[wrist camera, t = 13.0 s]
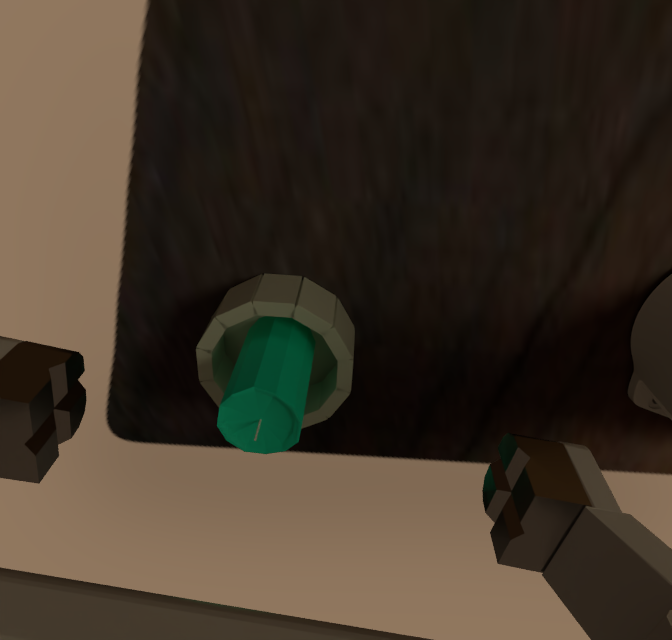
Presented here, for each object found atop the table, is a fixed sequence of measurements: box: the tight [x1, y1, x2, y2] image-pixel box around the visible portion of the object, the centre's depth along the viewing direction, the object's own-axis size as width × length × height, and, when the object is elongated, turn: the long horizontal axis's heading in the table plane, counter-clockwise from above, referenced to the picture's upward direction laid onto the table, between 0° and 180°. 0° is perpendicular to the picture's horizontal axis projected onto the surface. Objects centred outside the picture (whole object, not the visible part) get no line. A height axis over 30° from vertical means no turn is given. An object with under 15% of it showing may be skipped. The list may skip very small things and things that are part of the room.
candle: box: [217, 316, 316, 454], centre depth 40 cm, size 6×6×12 cm
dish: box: [196, 274, 355, 429], centre depth 44 cm, size 12×12×5 cm
